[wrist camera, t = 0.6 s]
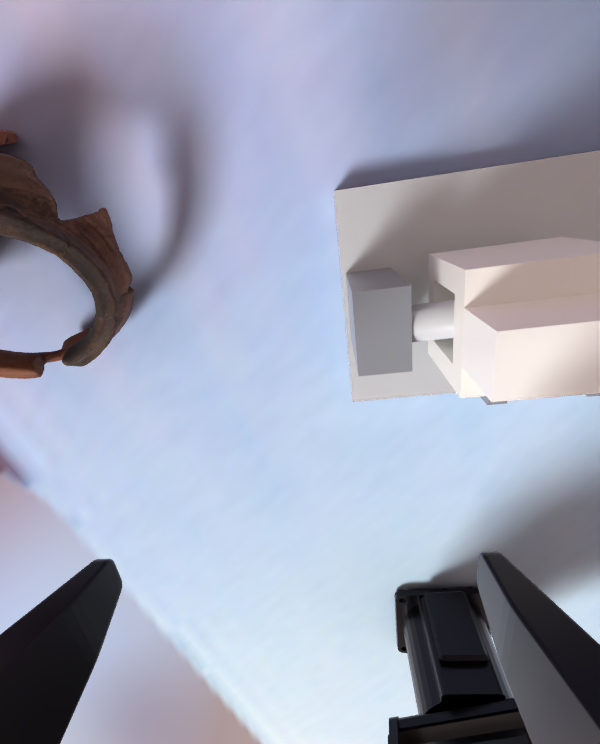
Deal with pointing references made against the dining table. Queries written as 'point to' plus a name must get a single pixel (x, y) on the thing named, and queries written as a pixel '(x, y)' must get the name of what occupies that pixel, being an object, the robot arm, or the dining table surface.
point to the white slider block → (520, 318)
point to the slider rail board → (434, 235)
